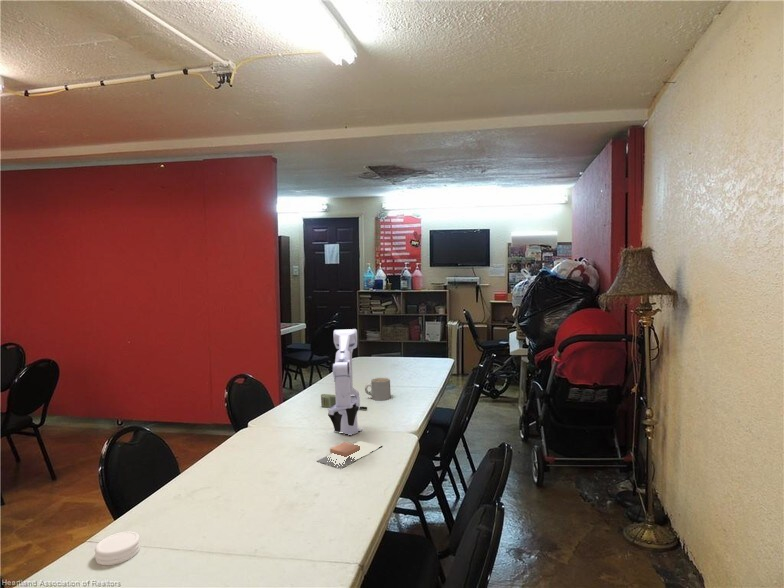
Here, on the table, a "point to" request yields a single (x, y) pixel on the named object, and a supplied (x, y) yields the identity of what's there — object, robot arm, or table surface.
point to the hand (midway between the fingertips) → (344, 428)
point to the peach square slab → (345, 449)
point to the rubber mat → (325, 459)
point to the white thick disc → (117, 548)
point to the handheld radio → (331, 401)
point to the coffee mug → (379, 389)
